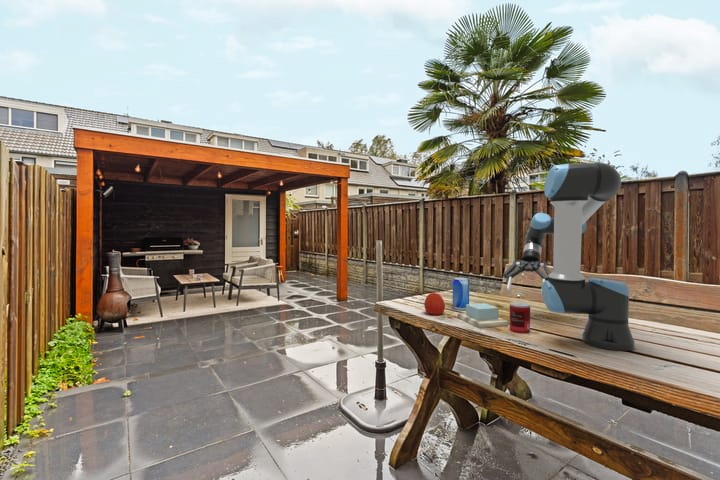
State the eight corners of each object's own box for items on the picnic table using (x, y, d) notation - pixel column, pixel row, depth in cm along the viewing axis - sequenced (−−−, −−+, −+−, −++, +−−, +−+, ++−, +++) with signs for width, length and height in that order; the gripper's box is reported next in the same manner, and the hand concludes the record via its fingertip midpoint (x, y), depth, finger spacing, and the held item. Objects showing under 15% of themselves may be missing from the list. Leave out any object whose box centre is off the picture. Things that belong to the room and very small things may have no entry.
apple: (421, 311, 172) (421, 291, 172) (441, 311, 173) (441, 290, 172) (426, 316, 162) (426, 294, 162) (447, 316, 162) (447, 294, 162)
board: (508, 325, 145) (508, 321, 145) (479, 328, 142) (479, 323, 142) (483, 315, 162) (483, 311, 162) (457, 317, 159) (457, 313, 159)
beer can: (449, 307, 180) (449, 277, 180) (462, 306, 183) (463, 277, 182) (458, 311, 172) (458, 280, 172) (472, 309, 175) (472, 279, 174)
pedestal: (498, 319, 148) (498, 307, 148) (478, 320, 146) (478, 309, 146) (485, 313, 158) (485, 303, 158) (465, 315, 156) (465, 304, 156)
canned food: (525, 327, 142) (525, 302, 142) (533, 333, 134) (533, 306, 134) (506, 327, 143) (506, 301, 142) (513, 333, 135) (513, 305, 134)
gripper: (563, 261, 153) (558, 299, 141) (504, 259, 168) (496, 293, 156) (561, 250, 148) (557, 288, 137) (502, 248, 163) (493, 283, 152)
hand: (524, 291), depth 146 cm, fingers open, 13 cm apart
